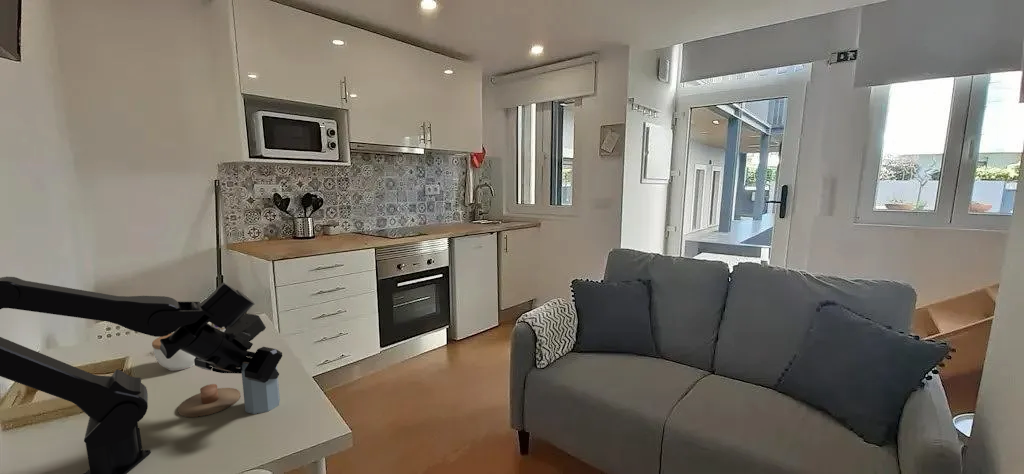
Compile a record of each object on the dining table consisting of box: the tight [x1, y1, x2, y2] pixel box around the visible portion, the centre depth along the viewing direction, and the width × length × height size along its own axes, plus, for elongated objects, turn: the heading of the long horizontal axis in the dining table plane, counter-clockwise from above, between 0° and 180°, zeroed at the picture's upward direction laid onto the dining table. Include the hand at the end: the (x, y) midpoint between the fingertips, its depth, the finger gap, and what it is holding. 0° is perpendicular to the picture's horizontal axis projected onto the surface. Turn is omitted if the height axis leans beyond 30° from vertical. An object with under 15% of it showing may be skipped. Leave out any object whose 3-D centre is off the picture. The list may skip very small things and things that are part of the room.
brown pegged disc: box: [177, 383, 241, 418], centre depth 91 cm, size 11×11×4 cm
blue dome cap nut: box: [241, 363, 281, 415], centre depth 89 cm, size 6×6×10 cm
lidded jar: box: [151, 332, 196, 372], centre depth 109 cm, size 11×11×9 cm
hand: (266, 373), depth 90 cm, fingers closed on blue dome cap nut, 6 cm apart
